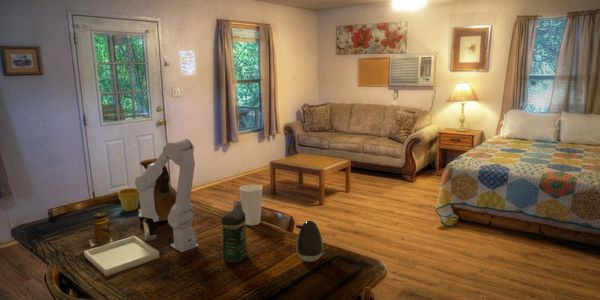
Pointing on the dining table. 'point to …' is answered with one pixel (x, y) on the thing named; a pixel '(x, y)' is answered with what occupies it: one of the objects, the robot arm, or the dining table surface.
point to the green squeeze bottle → (234, 236)
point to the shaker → (146, 231)
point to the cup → (251, 203)
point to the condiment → (101, 229)
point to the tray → (121, 255)
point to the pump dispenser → (309, 242)
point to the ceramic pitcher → (161, 192)
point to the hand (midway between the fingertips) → (150, 233)
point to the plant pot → (129, 198)
